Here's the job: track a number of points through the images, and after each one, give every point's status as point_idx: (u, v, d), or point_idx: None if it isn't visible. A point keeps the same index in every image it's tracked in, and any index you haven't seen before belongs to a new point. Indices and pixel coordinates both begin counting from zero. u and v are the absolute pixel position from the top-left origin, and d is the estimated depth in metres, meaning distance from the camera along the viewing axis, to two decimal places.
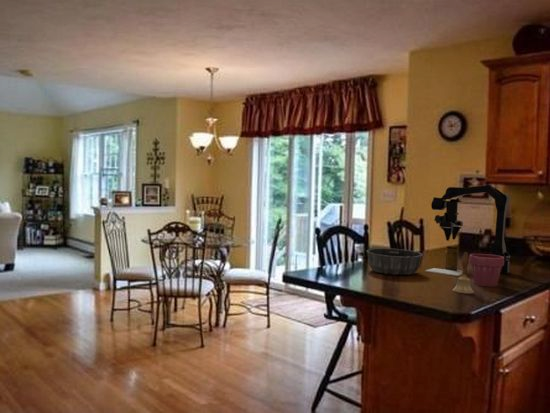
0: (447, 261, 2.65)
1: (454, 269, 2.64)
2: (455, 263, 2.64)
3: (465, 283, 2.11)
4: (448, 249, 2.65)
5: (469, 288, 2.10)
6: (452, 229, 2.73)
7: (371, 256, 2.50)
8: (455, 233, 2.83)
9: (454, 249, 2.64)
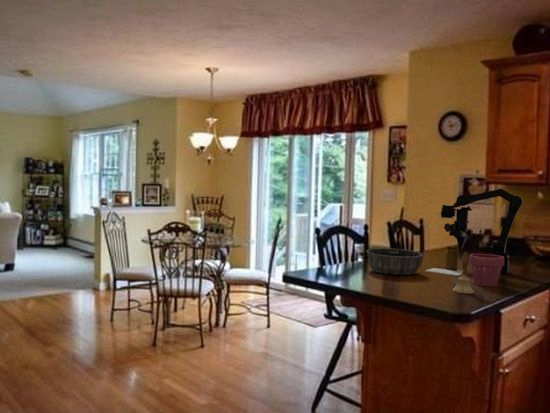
0: (447, 261, 2.65)
1: (454, 269, 2.64)
2: (455, 263, 2.64)
3: (465, 283, 2.11)
4: (448, 249, 2.65)
5: (469, 288, 2.10)
6: (465, 237, 2.71)
7: (371, 256, 2.50)
8: None
9: (454, 249, 2.64)
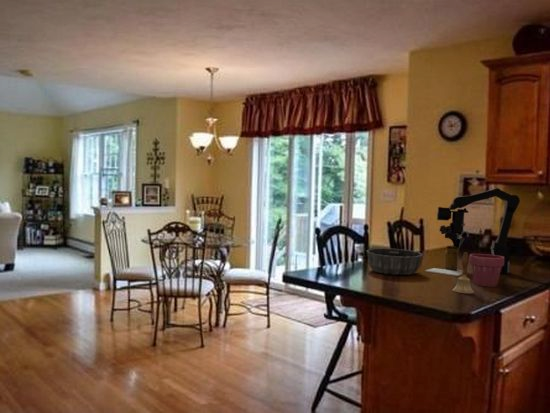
0: (447, 261, 2.65)
1: (454, 269, 2.64)
2: (455, 263, 2.64)
3: (465, 283, 2.11)
4: (448, 249, 2.65)
5: (469, 288, 2.10)
6: (461, 240, 2.66)
7: (371, 256, 2.50)
8: None
9: (454, 249, 2.64)
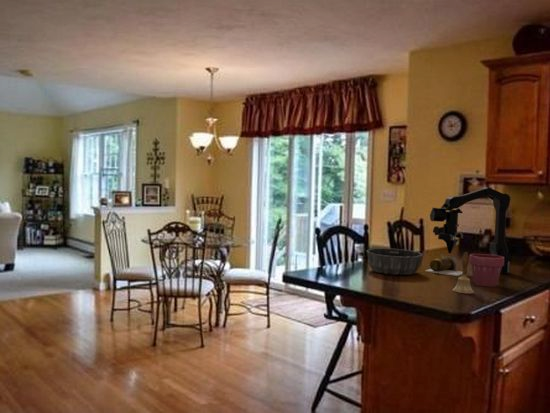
0: None
1: (450, 266, 2.62)
2: (448, 266, 2.60)
3: (465, 283, 2.11)
4: None
5: (469, 288, 2.10)
6: (455, 241, 2.59)
7: (371, 256, 2.50)
8: None
9: (439, 268, 2.56)
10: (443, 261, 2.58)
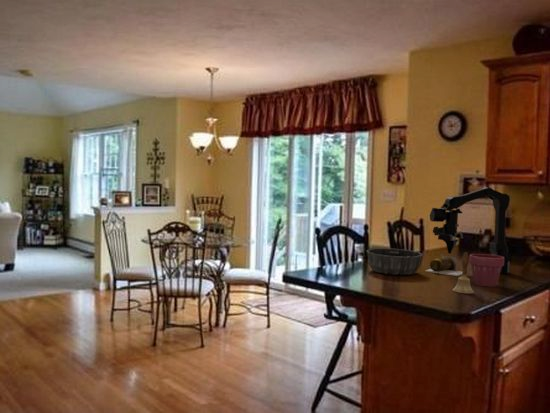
0: None
1: (451, 266, 2.62)
2: (448, 266, 2.60)
3: (465, 283, 2.11)
4: None
5: (469, 288, 2.10)
6: (455, 242, 2.59)
7: (371, 256, 2.50)
8: None
9: (439, 268, 2.56)
10: (443, 261, 2.58)
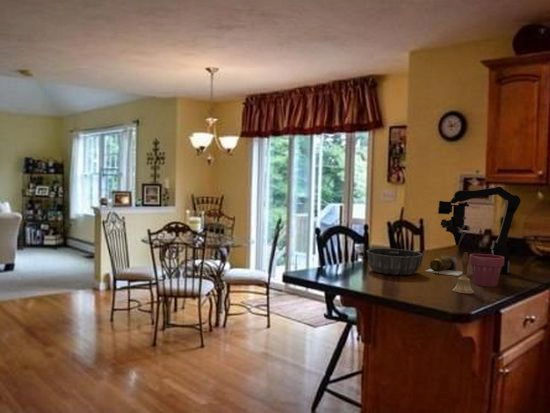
0: None
1: (451, 266, 2.62)
2: (448, 266, 2.60)
3: (465, 283, 2.11)
4: None
5: (469, 288, 2.10)
6: (462, 234, 2.67)
7: (371, 256, 2.50)
8: None
9: (439, 268, 2.56)
10: (443, 261, 2.58)
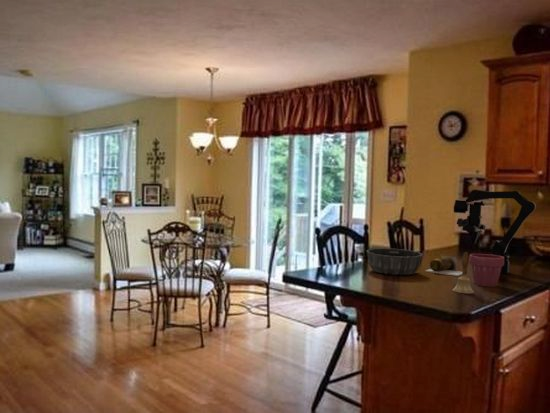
0: None
1: (451, 266, 2.62)
2: (448, 266, 2.60)
3: (465, 283, 2.11)
4: None
5: (469, 288, 2.10)
6: (478, 233, 2.68)
7: (371, 256, 2.50)
8: None
9: (439, 268, 2.56)
10: (443, 261, 2.58)
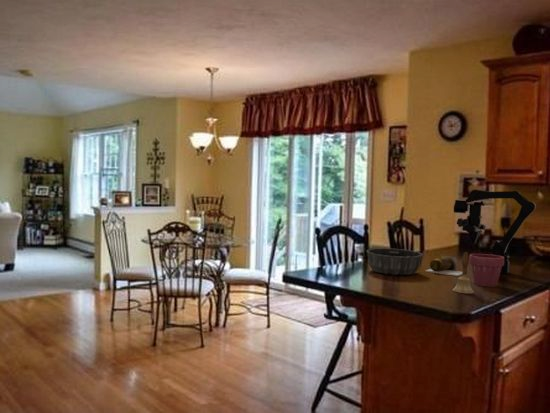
0: None
1: (451, 266, 2.62)
2: (448, 266, 2.60)
3: (465, 283, 2.11)
4: None
5: (469, 288, 2.10)
6: (478, 233, 2.68)
7: (371, 256, 2.50)
8: None
9: (439, 268, 2.56)
10: (443, 261, 2.58)
